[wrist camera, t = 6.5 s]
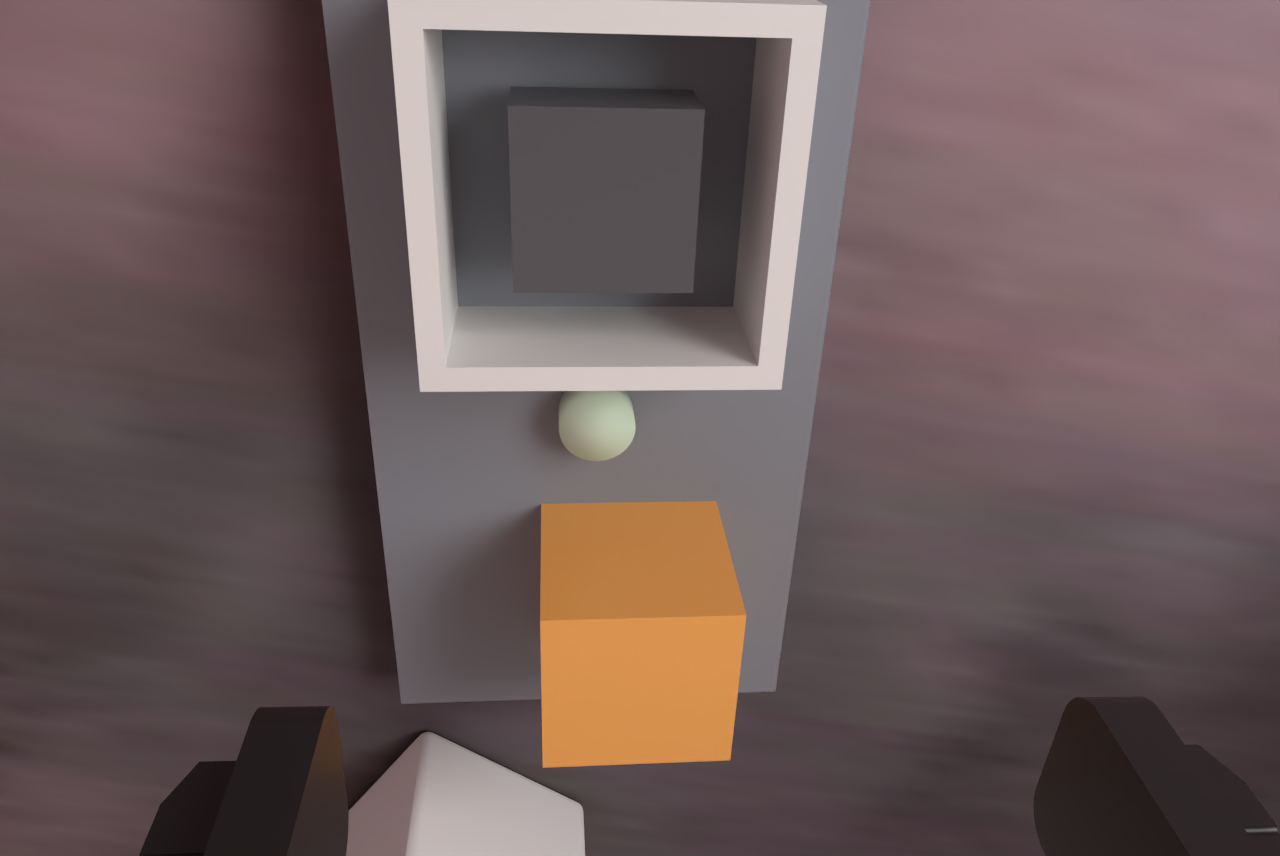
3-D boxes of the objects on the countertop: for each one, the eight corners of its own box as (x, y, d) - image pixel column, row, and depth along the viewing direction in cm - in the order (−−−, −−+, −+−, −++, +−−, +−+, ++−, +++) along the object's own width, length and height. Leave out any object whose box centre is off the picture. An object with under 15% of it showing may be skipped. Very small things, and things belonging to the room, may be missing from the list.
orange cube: (716, 501, 29) (746, 615, 24) (704, 634, 31) (730, 760, 27) (540, 503, 28) (540, 620, 24) (543, 639, 31) (542, 767, 26)
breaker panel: (866, -162, 22) (952, -169, 18) (763, 649, 34) (798, 777, 29) (320, -186, 21) (255, -199, 17) (408, 659, 33) (385, 793, 28)
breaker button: (692, 89, 22) (705, 109, 20) (682, 262, 24) (693, 293, 22) (510, 86, 22) (507, 105, 20) (515, 261, 24) (513, 292, 22)
